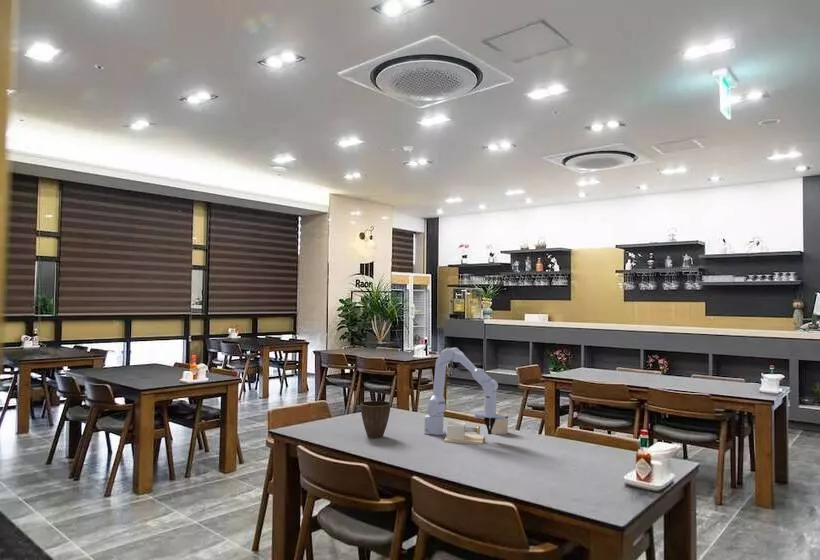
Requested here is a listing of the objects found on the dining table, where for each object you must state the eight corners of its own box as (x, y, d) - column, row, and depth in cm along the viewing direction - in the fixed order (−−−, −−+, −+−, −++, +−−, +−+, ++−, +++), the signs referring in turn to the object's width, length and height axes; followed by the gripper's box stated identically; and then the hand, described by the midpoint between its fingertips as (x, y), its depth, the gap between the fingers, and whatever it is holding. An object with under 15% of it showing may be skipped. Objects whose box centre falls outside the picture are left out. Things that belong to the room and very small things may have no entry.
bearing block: (444, 441, 269) (444, 426, 269) (447, 435, 283) (447, 420, 283) (482, 444, 266) (482, 428, 266) (483, 437, 280) (484, 422, 280)
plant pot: (354, 438, 273) (354, 404, 273) (367, 431, 286) (368, 399, 287) (382, 441, 267) (383, 407, 268) (395, 435, 281) (395, 402, 281)
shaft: (453, 433, 273) (453, 425, 274) (454, 432, 277) (454, 424, 277) (479, 435, 271) (479, 427, 271) (479, 433, 275) (479, 425, 275)
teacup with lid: (511, 433, 289) (512, 410, 290) (499, 435, 284) (499, 412, 284) (494, 429, 299) (494, 406, 299) (482, 431, 293) (482, 408, 294)
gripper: (474, 405, 270) (473, 434, 270) (505, 407, 268) (504, 436, 267) (475, 403, 277) (474, 431, 277) (505, 404, 275) (505, 433, 274)
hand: (489, 433), depth 272 cm, fingers closed
